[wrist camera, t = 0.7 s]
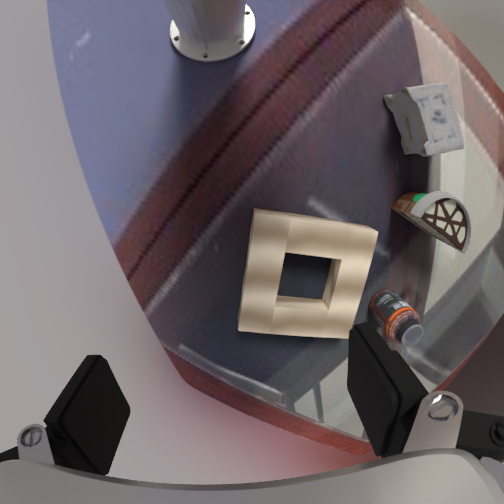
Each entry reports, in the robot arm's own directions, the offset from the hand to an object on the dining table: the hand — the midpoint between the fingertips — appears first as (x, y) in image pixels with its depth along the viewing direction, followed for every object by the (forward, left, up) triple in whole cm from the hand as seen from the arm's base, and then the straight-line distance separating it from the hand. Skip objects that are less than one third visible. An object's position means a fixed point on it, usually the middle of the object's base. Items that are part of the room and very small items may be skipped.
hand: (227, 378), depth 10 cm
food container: (-6, +29, -34) cm, 46 cm away
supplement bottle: (+12, +27, -34) cm, 45 cm away
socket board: (+8, +11, -34) cm, 37 cm away
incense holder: (-19, +24, -34) cm, 46 cm away
